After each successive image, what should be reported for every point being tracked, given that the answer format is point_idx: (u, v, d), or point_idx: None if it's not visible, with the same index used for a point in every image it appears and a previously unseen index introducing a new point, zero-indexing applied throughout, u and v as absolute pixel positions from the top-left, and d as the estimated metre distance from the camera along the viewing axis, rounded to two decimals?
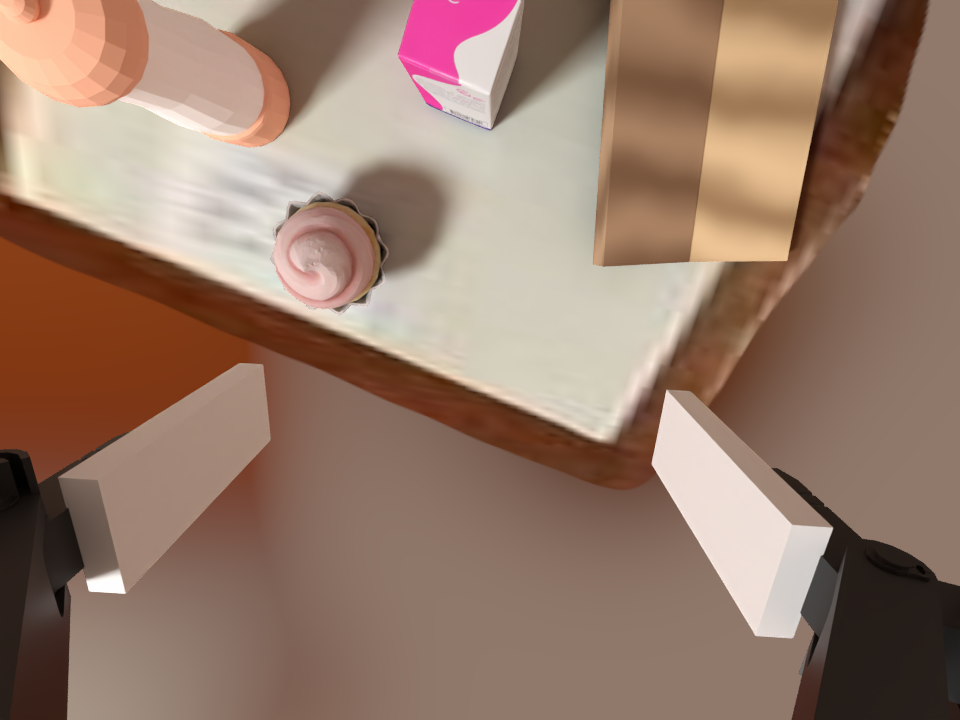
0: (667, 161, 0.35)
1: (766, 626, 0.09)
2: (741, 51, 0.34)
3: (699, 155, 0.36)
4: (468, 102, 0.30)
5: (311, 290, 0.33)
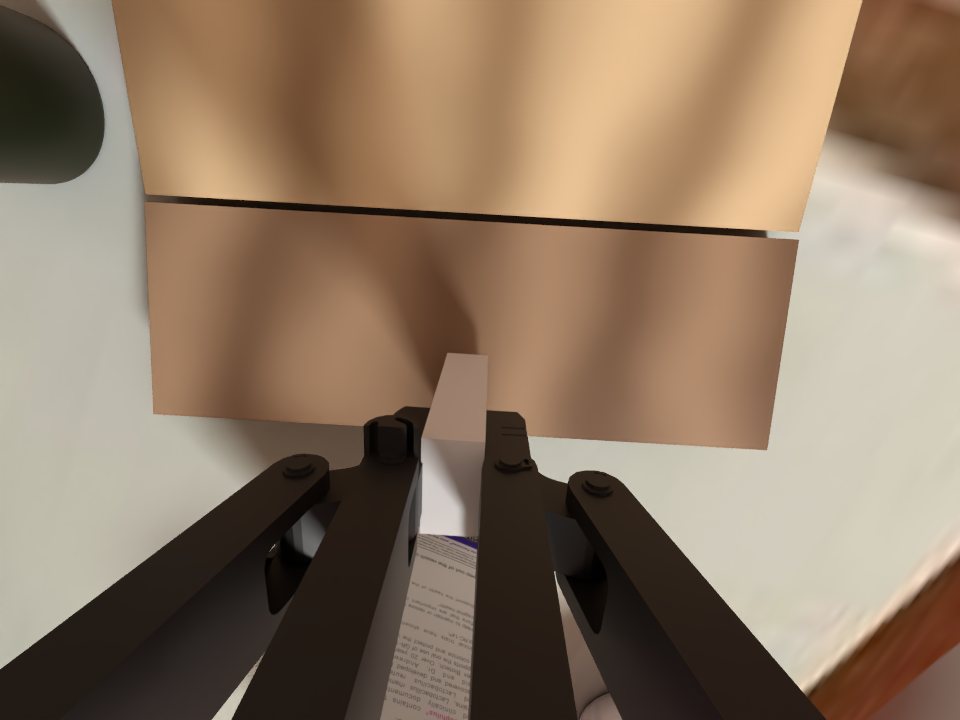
0: (582, 314, 0.17)
1: (455, 527, 0.12)
2: (388, 156, 0.16)
3: (577, 235, 0.17)
4: None
5: None
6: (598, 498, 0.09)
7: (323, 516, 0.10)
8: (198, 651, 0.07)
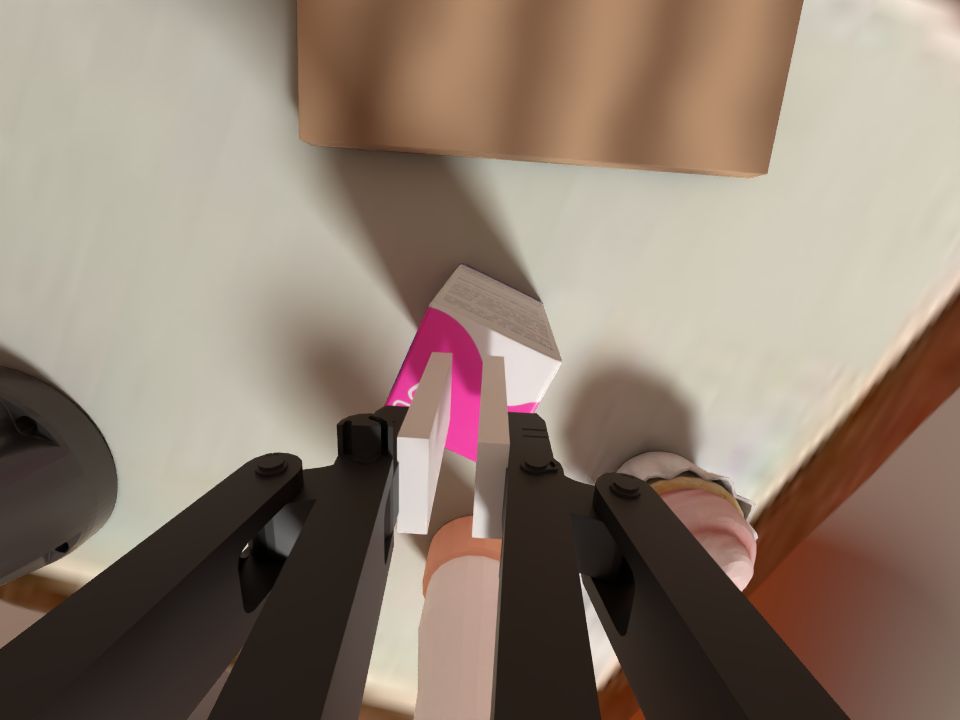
0: (631, 55, 0.22)
1: (478, 529, 0.12)
2: None
3: None
4: None
5: (740, 588, 0.25)
6: (626, 500, 0.09)
7: (297, 514, 0.10)
8: (171, 651, 0.07)
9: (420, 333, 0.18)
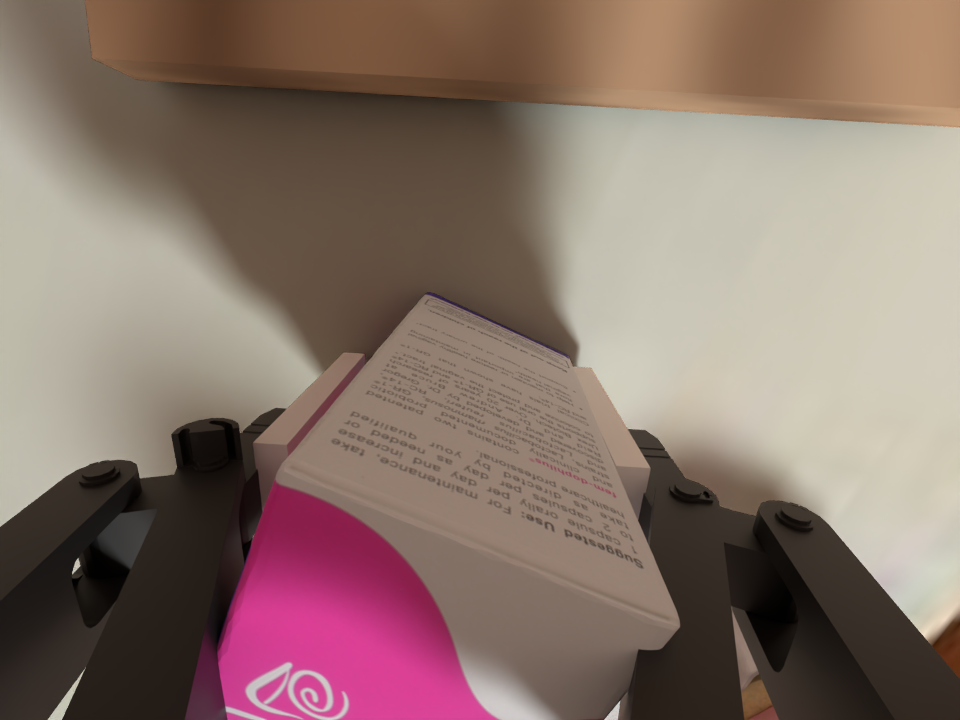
0: None
1: None
2: None
3: None
4: None
5: None
6: (794, 531, 0.08)
7: None
8: None
9: (257, 553, 0.06)
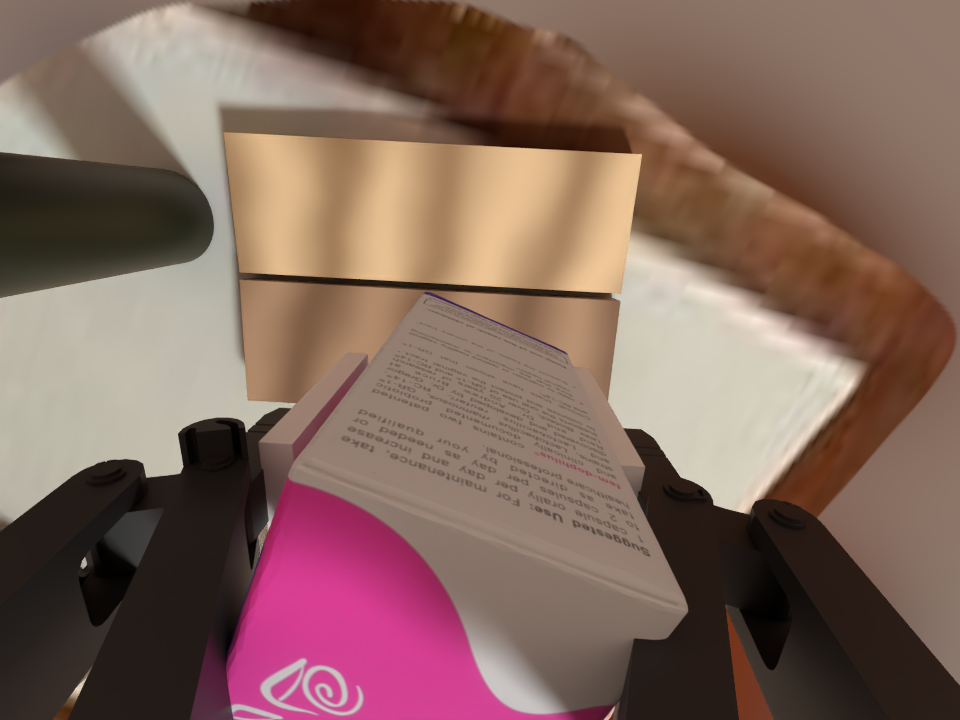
0: None
1: None
2: (381, 251, 0.28)
3: (491, 298, 0.29)
4: None
5: None
6: (788, 530, 0.09)
7: None
8: (6, 673, 0.06)
9: (272, 549, 0.06)
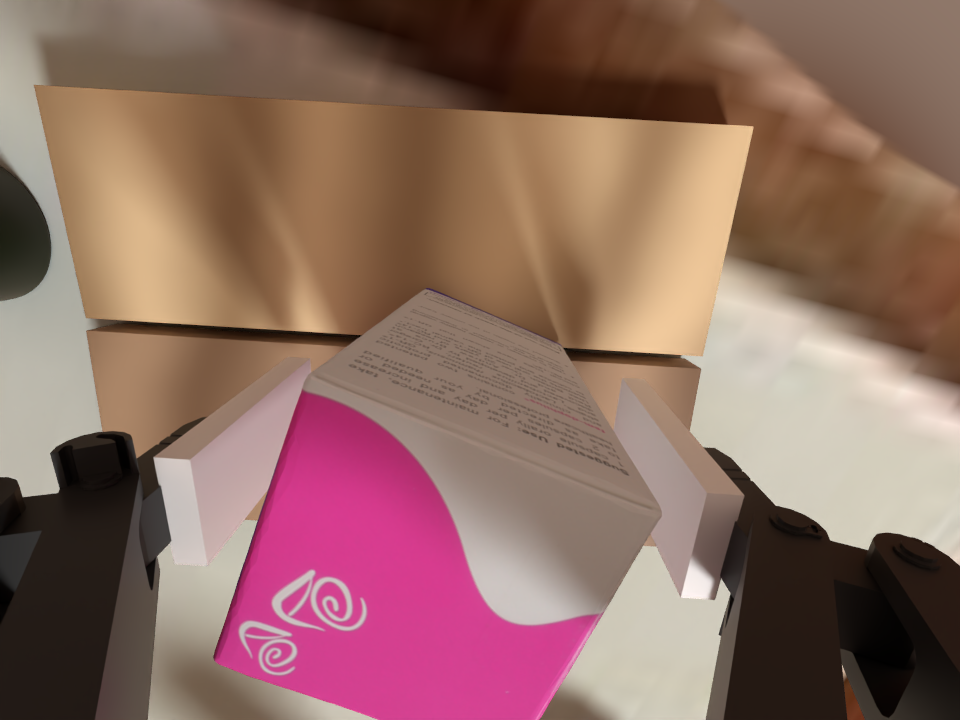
0: None
1: (689, 589, 0.10)
2: (312, 287, 0.17)
3: None
4: None
5: None
6: (916, 568, 0.08)
7: None
8: None
9: (286, 460, 0.07)
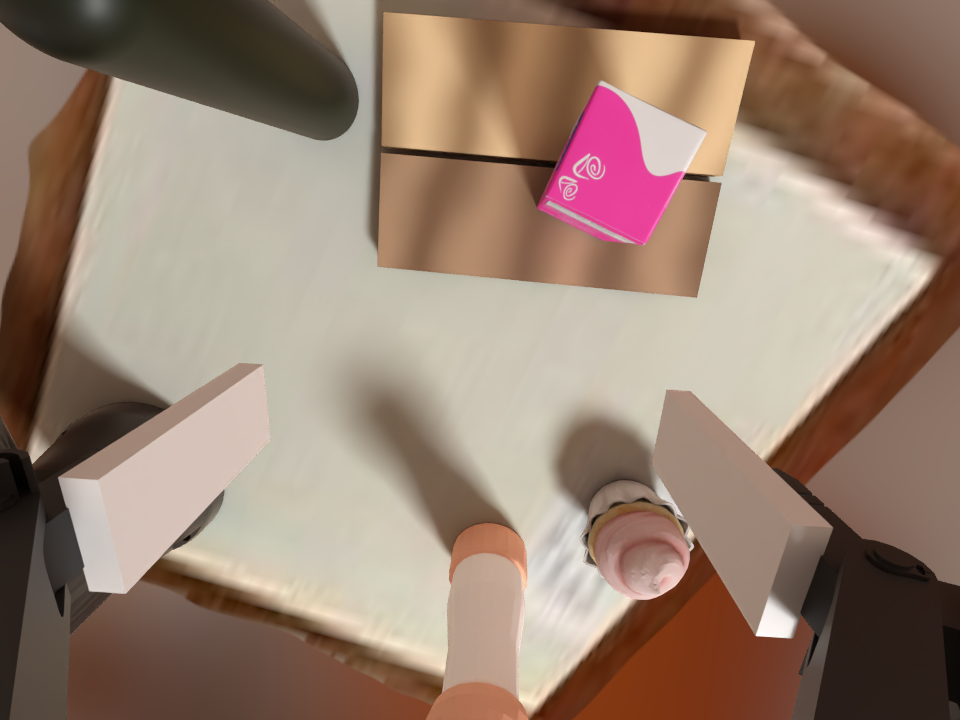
0: None
1: (766, 627, 0.09)
2: (509, 128, 0.32)
3: None
4: None
5: (674, 582, 0.36)
6: None
7: None
8: None
9: (588, 110, 0.21)
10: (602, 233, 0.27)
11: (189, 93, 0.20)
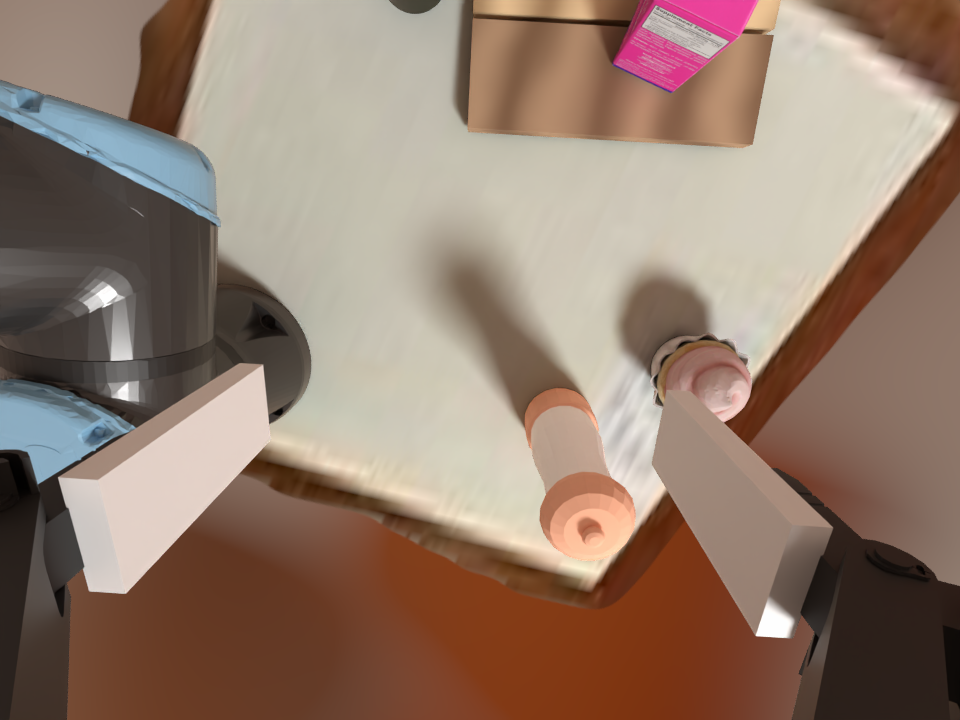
0: None
1: (765, 626, 0.09)
2: None
3: None
4: None
5: (741, 402, 0.40)
6: None
7: None
8: None
9: None
10: (686, 57, 0.32)
11: None
